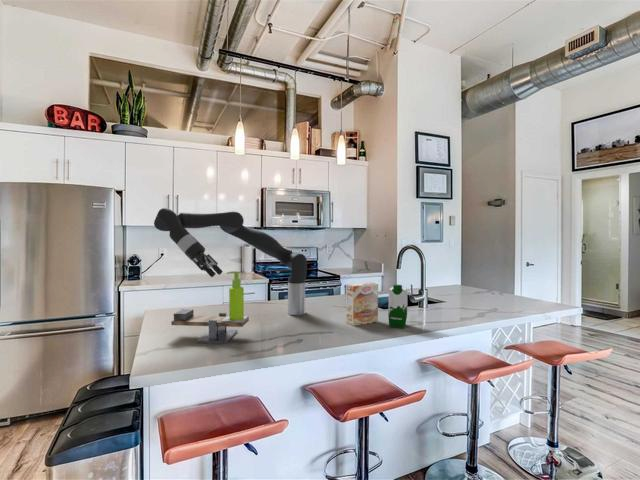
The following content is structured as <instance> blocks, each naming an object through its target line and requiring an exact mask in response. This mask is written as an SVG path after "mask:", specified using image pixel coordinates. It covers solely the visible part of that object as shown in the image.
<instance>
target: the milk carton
mask: <svg viewBox="0 0 640 480" xmlns="http://www.w3.org/2000/svg"><path fill="white" fill-rule="evenodd" d="M387 311H388V315H387V316H388V326H391V327H390V328H398V327H402V329H405V327H406V324H407V318H408V289H407V288H406V287H403V285H402V284H393V286H392V287H390V288H389V289H388V310H387Z"/></svg>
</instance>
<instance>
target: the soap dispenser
mask: <svg viewBox="0 0 640 480" xmlns="http://www.w3.org/2000/svg"><path fill="white" fill-rule="evenodd" d="M226 274H227V275H230V274H234V278H233V279H232V280H231V282H232V286H231V287H229V291H228V293H229V298H228V299H229V301H228V302H229V304H228V306H229V319H231V320H240V319H243V318H244V316H245V315H244V309H245V308H244V307H245V306H244V305H245V304H244V302H245V301H244V298H245V297H244V292H245V291H244V287H243V286H241V278H240V277H239V274H241V271H237V270H235V271H234V270H233V271H228V272H226Z"/></svg>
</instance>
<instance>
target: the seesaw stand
mask: <svg viewBox="0 0 640 480" xmlns="http://www.w3.org/2000/svg"><path fill="white" fill-rule="evenodd" d="M218 316H227V312H219V313H218ZM237 333H238V329H228V328H227V327H224V326H217V320H209V326H208V331H207V332H206V333H204V334H203V335H202V336H201V337H199V338H198V339H197V340H196V343H197V344H211V345H212V344H213V345H214V344H217V345H220V344H221V345H226V344H227V343H228V342H229V341H230V340H232V338H233V337H234V336H235V335H236V334H237Z"/></svg>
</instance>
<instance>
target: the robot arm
mask: <svg viewBox="0 0 640 480" xmlns="http://www.w3.org/2000/svg"><path fill="white" fill-rule="evenodd" d="M153 224H154V225H153V226H154V228H155V229H156V230H158V231H161V232H169V238H170V239H171V240H172V241H173V242H174V243H175V244H176V245H177V246H178V248H179V249H180V250H181V252H183V254H184V255H185V256H187V258H188V259H189V260H190V261H192V262H193V264H195V265H196V266H197V268H199V270H201V271H204V272H206V273H207V274H208V275H209V276H210V278H213V277H215V276H216V274H217V275H218V276H220V275H221V274H222V273H223V270H222V268H221V267H219V266H218V264H219V263H218V261H216V259H214V257H212V256H211V255H210V254H209V253H208V254H206V253H205V251H206V248H205V247H204V246H203V245H202V243H200V242H199V241H198V239H197V238H195V236H193V235H192V234H191V233H190V232H189V231H188V230H187V229H203V228H204V229H205V228H209V227H219V228H220V229H221V231H223V232H224V233H226V234H228V235H231V236H233V237H235V238H237V239H239V240H241V241H243V242H245V243H247V244H248V245H250V246H252V247H254V248H255V249H257V250H258V251H260V252H262V253H264V254H266V255H268V256H269V257H272V258H274V259H276V260H278V261H279V262H280V263H282V264H283V265H284V266H286V267H287V268H289V269H290V270H291V274H290V276H288V279H287V280H288V281H287V285H288V286H287V290H288V291H287V296H288V297H287V314H288V315H290V316H305V313H306V278H307V274H308V273H307V272H308V271H307V270H308V260H307V257H306V255H304V254H303V253H298V252H293V251H291V250H289V249H287V248H285V247H284V246H282V245H281V243H280V242H278V240H276V239H275V238H274V236H273V237H272V236H271V235H269V234H267V232H264V231H261V230H257V229H253V228H249V227H246V226H245V225H244V217H243V215H242V214H241V213H240V212H238V211H235V210H234V211H233V210H231V211H227V212H226V211H225V212H215V213H214V212H211V213H206V212H203V213H202V212H179V214H177V213H176V212H174V211H173V210H172V209H170V208H168V207H163V208H160V209H159V210H158V212H157V214H156V216H155V219H154V220H153Z"/></svg>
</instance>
